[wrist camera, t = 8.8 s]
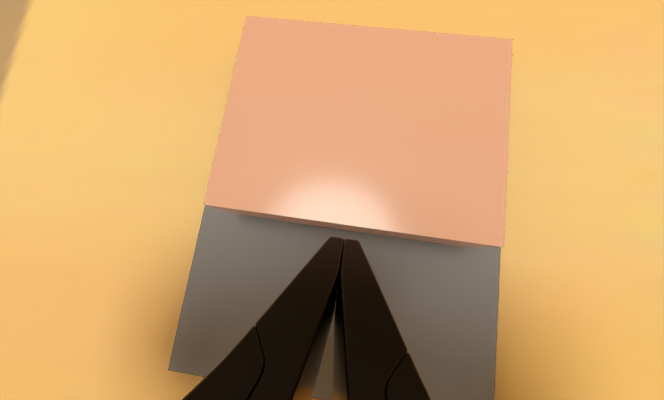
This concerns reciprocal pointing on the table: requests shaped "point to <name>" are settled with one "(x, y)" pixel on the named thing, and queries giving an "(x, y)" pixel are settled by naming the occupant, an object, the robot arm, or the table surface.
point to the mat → (390, 271)
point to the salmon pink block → (367, 131)
